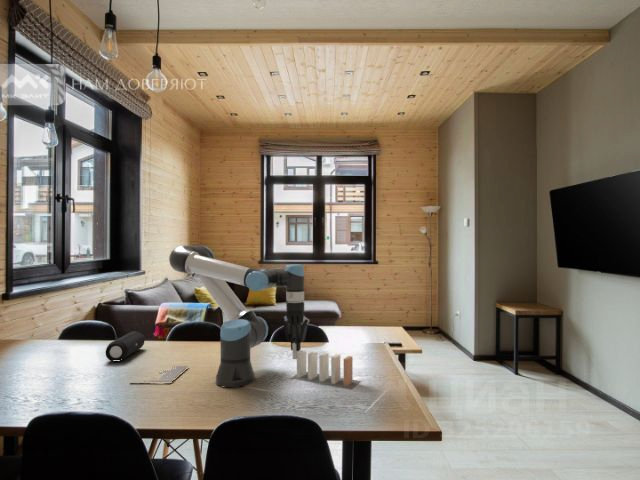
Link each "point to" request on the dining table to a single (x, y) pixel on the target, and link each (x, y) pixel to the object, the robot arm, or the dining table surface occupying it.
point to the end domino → (348, 371)
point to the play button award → (171, 376)
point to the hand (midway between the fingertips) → (295, 358)
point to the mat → (327, 381)
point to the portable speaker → (125, 346)
